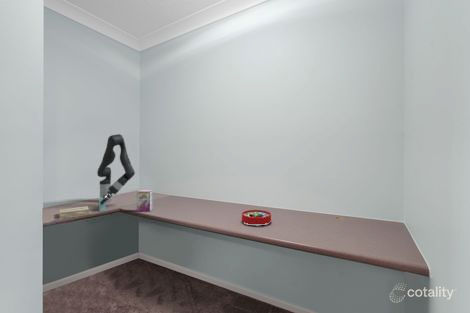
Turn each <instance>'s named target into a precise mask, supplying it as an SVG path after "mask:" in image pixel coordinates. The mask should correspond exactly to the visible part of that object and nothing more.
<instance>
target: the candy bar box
mask: <svg viewBox="0 0 470 313" xmlns="http://www.w3.org/2000/svg"><path fill="white" fill-rule="evenodd" d="M150 210H151V211H153V190H148V189H147V190H143V189H141V190H137V191H136V211H137V212H151V211H150Z"/></svg>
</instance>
